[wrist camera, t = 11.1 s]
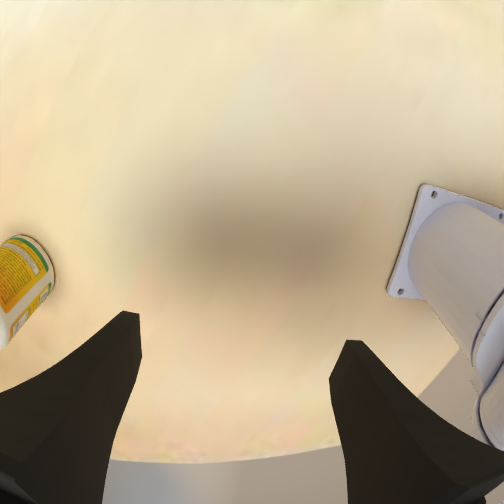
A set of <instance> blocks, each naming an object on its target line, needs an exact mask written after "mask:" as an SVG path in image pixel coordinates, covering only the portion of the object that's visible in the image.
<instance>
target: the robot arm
mask: <svg viewBox="0 0 504 504" xmlns="http://www.w3.org/2000/svg"><path fill="white" fill-rule="evenodd" d="M433 191H434V195H433V196H432V197H431V193H432V192H433ZM499 215H500V216H499ZM401 288H402V289H401ZM399 289H401V291H399V292H398V290H399ZM387 293H388V295H389V296H391V297H399V298H409V299H420V300H425V301H426V302H427V303H428V304H429V306H430V307H431V308H432V310H433V311H434V312H435V314H436V315H437V316H438V318H439V319H440V320H441V322H442V323H443V324H444V326H445V327H446V329H447V330H448V331H449V333H450V334H451V336H452V337H453V338H454V340H455V341H456V343H457V344H458V345H459V347H460V348H461V350H462V351H463V353H464V354H465V355H466V357H467V358H468V360H469V361H470V363H471V364H472V366H473V367H474V373H473V376H472V378H471V380H470V382H471V383H472V385H473V387H474V389H475V390H476V392H477V394H478V395H479V396H478V397H477V399H476V401H475V404H474V406H473V410H472V417H471V420H472V429H473V433H474V436H475V438H473V437H471V436H469V435H467V434H466V433H464V432H462V431H461V430H459V429H457V428H456V427H454V426H453V425H451V424H450V423H448V422H447V421H445V420H444V419H442V418H441V417H440V416H438V415H437V414H436V413H435V412H433V411H432V410H431V409H430V408H428V407H427V406H426V405H425V404H424V403H422V402H421V401H420V400H419V399H418V398H417V397H416V396H415V395H414V394H413V393H412V392H411V391H409V390H408V389H407V388H406V387H405V386H404V385H403V384H402V383H401V382H400V381H399V380H398V379H397V378H396V376H395V375H394V374H393V373H392V372H391V371H390V370H389V369H388V368H387V367H386V366H385V365H384V364H383V363H382V361H381V360H380V359H379V358H378V357H377V356H376V355H375V354H374V353H373V352H372V351H371V350H370V348H369V347H368V346H367V345H366V344H365V343H364V342H363V341H359V340H346V342H345V344H344V347H343V349H342V351H341V353H340V356H339V358H338V360H337V362H336V365H335V367H334V369H333V371H332V373H331V375H330V377H329V384H330V395H331V403H332V407H333V411H334V416H335V420H336V424H337V428H338V432H339V436H340V440H341V444H342V449H343V453H344V458H345V465H346V477H347V491H348V504H486V500H485V497H484V496H485V495H486V494H488V493H489V492H490V491H492V490H493V489H494V488H496V487H497V486H498V485H500V484H501V483H502V482H503V481H504V210H502V209H500V208H497V207H494V206H492V205H489V204H486V203H484V202H481V201H478V200H475V199H472V198H470V197H467V196H464V195H461V194H458V193H455V192H452V191H449V190H445V189H442V188H439V187H436V186H433V185H429V184H423V185H422V186H421V187H420V189H419V193H418V196H417V200H416V203H415V207H414V210H413V214H412V217H411V220H410V223H409V227H408V230H407V233H406V236H405V239H404V242H403V245H402V248H401V251H400V254H399V257H398V259H397V262H396V265H395V268H394V271H393V273H392V276H391V279H390V281H389V284H388V286H387ZM141 359H142V350H141V336H140V318H139V314H138V313H132V312H127V311H122V312H120V313H119V314H118V315H117V316H115V317H114V318H113V319H112V320H111V321H110V322H109V323H107V324H106V325H105V326H104V327H103V328H102V329H100V330H99V331H98V332H97V333H96V334H95V335H93V336H92V337H91V338H90V339H88V340H87V341H86V342H85V343H84V344H82V345H81V346H80V347H79V348H77V349H76V350H75V351H73V352H72V353H70V354H69V355H68V356H66V357H65V358H64V359H62V360H61V361H60V362H58V363H57V364H55V365H54V366H52V367H50V368H49V369H47V370H46V371H44V372H42V373H41V374H39V375H37V376H35V377H33V378H31V379H29V380H27V381H25V382H23V383H21V384H19V385H17V386H15V387H13V388H11V389H8V390H6V391H3V392H1V393H0V504H102V499H103V492H104V485H105V479H106V473H107V468H108V463H109V458H110V454H111V449H112V445H113V441H114V438H115V434H116V431H117V428H118V426H119V423H120V420H121V418H122V415H123V413H124V410H125V407H126V405H127V402H128V400H129V397H130V395H131V392H132V389H133V387H134V384H135V382H136V378H137V374H138V371H139V367H140V363H141ZM498 504H504V501H502V502H500V503H498Z"/></svg>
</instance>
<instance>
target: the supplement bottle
mask: <svg viewBox="0 0 504 504" xmlns="http://www.w3.org/2000/svg"><path fill="white" fill-rule="evenodd" d="M53 285H54V272H53V267H52V264H51V262H50V259H49V258H48V256H47V254H46V253H45V252H44V250H43V249H42V247H41V246H40V245H39V244H38V243H37V242H35V241H34V240H33V239H31V238H29V237H26V236H21V235H16V236H13V237H11V238H10V239H8V240H6V241H5V242H4V243H2V244H1V245H0V350H1V349H3V348H4V347H5V346H6V345H7V344H8V343H9V342H10V340H11V339H12V338H13V337H14V335H15V334H16V333H17V332H18V330H19V329H20V328H21V327H22V325H23V324H24V323H25V322H26V321H27V319H28V318H29V317H30V316H31V315H32V313H33V312H34V311H35V310H36V309H37V308H38V307H39V305H40V304H41V303H42V302H43V301H44V300H45V298H46V297H47V296H48V295H49V293H50V292H51V290H52V288H53Z"/></svg>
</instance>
